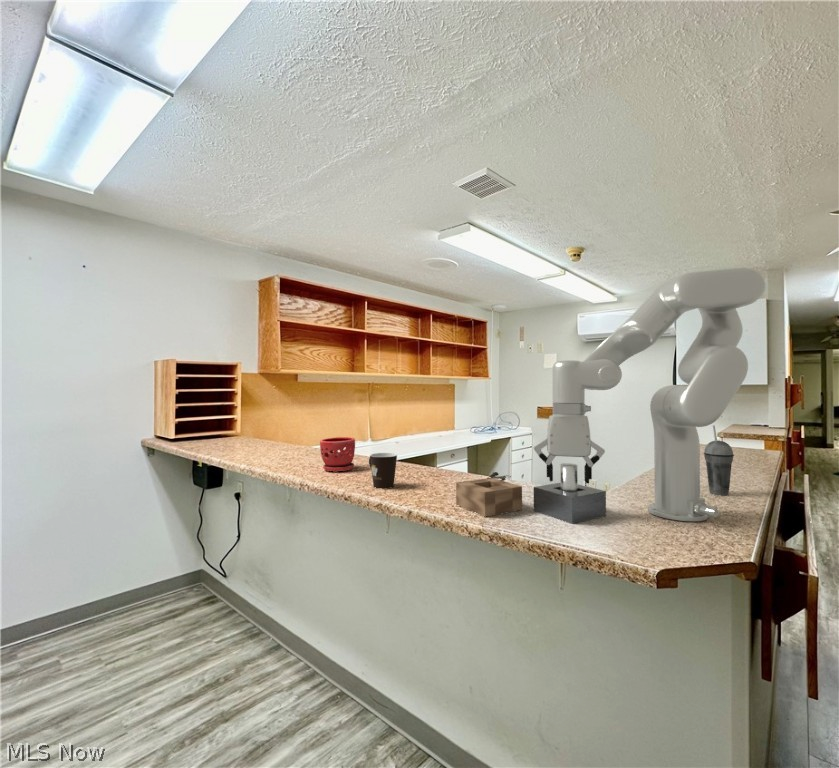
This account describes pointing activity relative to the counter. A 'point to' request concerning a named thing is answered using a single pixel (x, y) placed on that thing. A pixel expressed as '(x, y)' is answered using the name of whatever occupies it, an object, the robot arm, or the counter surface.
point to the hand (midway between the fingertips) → (568, 480)
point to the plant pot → (337, 453)
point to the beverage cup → (718, 466)
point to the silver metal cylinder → (568, 477)
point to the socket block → (570, 503)
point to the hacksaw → (496, 475)
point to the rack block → (489, 496)
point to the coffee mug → (383, 469)
